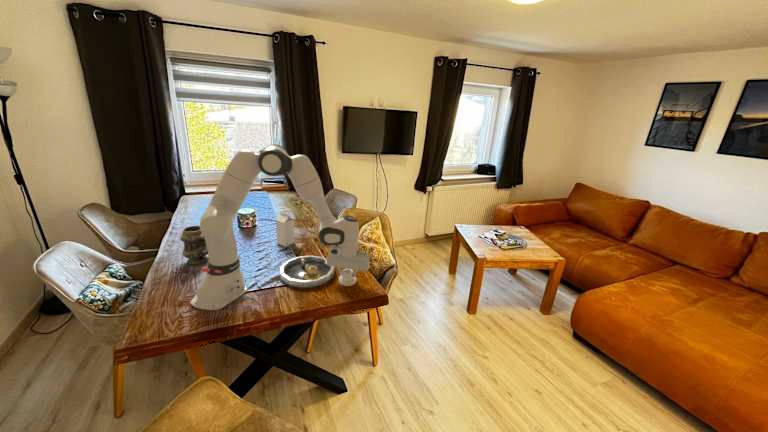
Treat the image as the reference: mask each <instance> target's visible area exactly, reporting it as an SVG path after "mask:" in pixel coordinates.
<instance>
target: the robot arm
mask: <svg viewBox="0 0 768 432" xmlns="http://www.w3.org/2000/svg"><path fill="white" fill-rule="evenodd" d="M260 173H263V174H265V175H267V176H270V177H281V176H288V177H289V179H290V181H291V183H292V185H293V187H294V189H295V191H296V193H297V194H298V196H299V197H300V199H301V200H303V201H304V202H309V203H310V204H312V207H313V208H314V211H315V212H316V214H317V217H318V218H319V219H318V220H319V230H318V241H319V242H320V243H321V244H323V245H324V246H329V249H328V254H327V256H326V257H327V258H326V259H327V264H328V265H329V266H334V268H337V270H338V271H337V272H339V276H341V275H342V271H343V269H352V270H353V274H352V277H356V276H357V273H358V272H359V271H360V272H367V271H368V270H369V269H370V260H371V255H370V254H369V253H368V252H367V251H361V250H359V236H360V226H359V225H360V224H359V220H358V219H357V218H356V217H354V216H351V215H341V217H340V218H338V217H337V216H336V215H335V214H334V213H333V212H332V210H331V208H330V206H329V203H328V201H327V200H326V198H325V193H324V189H323V185H322V181H321V178H320V175H319V174H318V172H317V170H316V167H315V166H314V165H313V163H312V161H311V160H310V158H309V157H308V156H307V155H305V154H296V155H295V154H294V155H292V156H291V155H289V152H288V151H287V150H286V149H285V147H283V146H282V145H279V144H270V145H267V146H266V147H264V148H262V149H260V150H259V151H258V152H255V151H252V150H249V149H240V150H238V151H237V152H236V153H235V155H234V156H233V158H232V159H231V161H230V162H229V164H228V165H227V166H226V169H225V171H224V173H223V174H222V176H221V178H220V180H219V182H218V184H217V187H216V188H215V192H213V195H212V197H211V199H210V202H209V204H208V206H207V207H206V209H205V210H204V212H203V214H202V216H201V217H200V220H199V226H200V230H201V232H202V233H203V236H204V239H205V241H206V244H207V249H208V254H207V257H209V261H208V262H207V266H203V267H202V268H201V272H202V273H206V274H205V275H204V276H203V277H202V279H201V281H200V283H198V286H197V287H196V293H195V296H194V297H193V298H192V299H191V300H190V302H189V303H190V305H191V306H192V307H194V308H197V309H200V310H207V311H217V310H221V309H223V308H224V307H225V306H227V305H229V304H230V303H232V302H233V301H235V300H236V299H238V298H239V297H241V296H243V295H245V293H246V292H248V288H247V286H246V283H245V279H244V276H243V272H242V270H241V267H240V266H241V260H240V256H239V255H238V254H239V252H238V251H239V250H238V243H237V242H238V241H237V240H236V237H235V232H234V221H235V218H236V216H237V214H238V212H239V211H240V209H241V207H242V205H243V204H244V202H245V200H246V198H247V197H248V194H249V192H250V191H251V190H252V187H253V185H254V183H255V181H256V179H257V178H258V176H259V175H260ZM342 268H343V269H342ZM356 278H357V277H356Z"/></svg>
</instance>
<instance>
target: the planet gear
mask: <svg viewBox="0 0 768 432" xmlns="http://www.w3.org/2000/svg"><path fill="white" fill-rule="evenodd" d="M353 272H354V270H353V269H347V268H343V269H342V275H339V277H338V284H339V285H342V286H344V287H352V286H355V285H356V283H357V277H352V274H353Z"/></svg>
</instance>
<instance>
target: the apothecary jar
mask: <svg viewBox="0 0 768 432" xmlns="http://www.w3.org/2000/svg"><path fill="white" fill-rule="evenodd" d="M179 240H180V241H181V242H183V245H184V248H183V250H182V251H181V254H182V256H183V257H184V258H186V259H188V260H187V261H186V265H188V266H190V267H191V266H193V267H194V266H201V265H204V264H206V263H208V262H209V257H208V249H207V244H206V241H205V239H204V236H203V233H202V232H201V230H200V225H190V226H186V227H184V228H183V229H182V233H181V234H180V236H179Z"/></svg>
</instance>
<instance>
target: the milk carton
mask: <svg viewBox="0 0 768 432" xmlns="http://www.w3.org/2000/svg"><path fill="white" fill-rule="evenodd" d="M275 229H276V230H275V231H276V244H278V245H280V246H283V247H284V248H286V247H288V246H290V245H293V244H295V220H294V219H293V218H292V217H291V216H290V215H289V214H288V213H286V212H280V214H279V215H278V216H277V218H276V219H275Z"/></svg>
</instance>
